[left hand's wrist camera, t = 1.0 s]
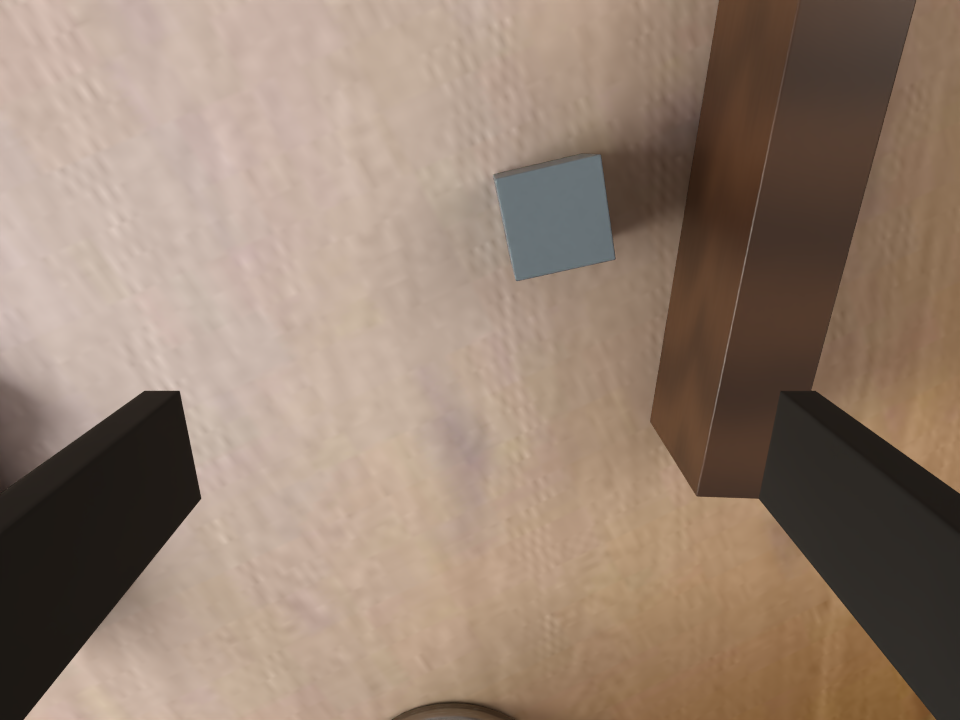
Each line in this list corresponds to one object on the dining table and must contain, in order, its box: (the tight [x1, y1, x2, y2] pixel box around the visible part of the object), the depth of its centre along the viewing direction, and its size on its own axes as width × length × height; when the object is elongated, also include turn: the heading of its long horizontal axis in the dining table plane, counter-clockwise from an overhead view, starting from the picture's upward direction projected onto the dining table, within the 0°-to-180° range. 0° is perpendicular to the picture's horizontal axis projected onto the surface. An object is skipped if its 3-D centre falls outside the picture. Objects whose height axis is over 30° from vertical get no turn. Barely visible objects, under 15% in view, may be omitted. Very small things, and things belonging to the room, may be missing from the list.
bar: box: [650, 0, 916, 499], centre depth 28 cm, size 26×4×8 cm, turn 178°
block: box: [493, 154, 615, 281], centre depth 29 cm, size 5×5×5 cm
